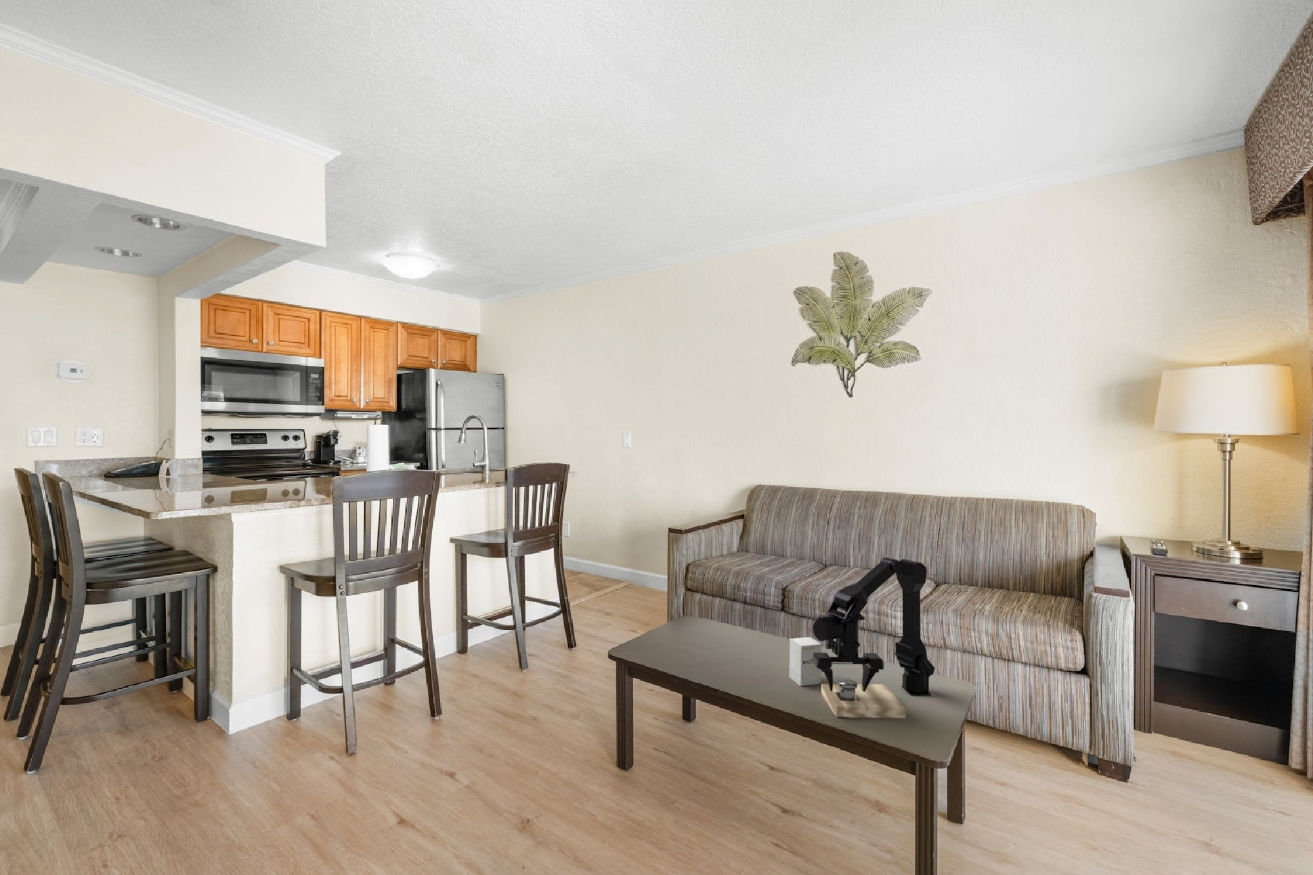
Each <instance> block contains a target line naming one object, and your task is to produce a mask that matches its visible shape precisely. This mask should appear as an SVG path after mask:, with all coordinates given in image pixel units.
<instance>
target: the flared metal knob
mask: <svg viewBox="0 0 1313 875" xmlns="http://www.w3.org/2000/svg"><path fill="white" fill-rule="evenodd" d="M837 684H838V685H839V686H840V700H841V701H855V689H856V688H857V684H858V682H857V681H856V680H854V679H849V678H840V679H838V681H837Z"/></svg>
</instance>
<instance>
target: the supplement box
mask: <svg viewBox="0 0 1313 875" xmlns="http://www.w3.org/2000/svg"><path fill="white" fill-rule="evenodd" d="M814 653H822V643H820V641H817V640H816V639H814V638H812V637H811V636H809V637H794V638H789V666H788V667H789V670H788V671H789V672H788V675H789V676H788V678H790V680H792V681H793V682H794V683H796V684H797V685H798V687H799V686H800V687H803V686H811V685H812V686H813V685H821V684H822V683H821V682H822V671H821V670H820V669H818V668H817V667H816V666H815V664H814V663H813V654H814Z"/></svg>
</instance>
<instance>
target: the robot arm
mask: <svg viewBox="0 0 1313 875" xmlns="http://www.w3.org/2000/svg"><path fill="white" fill-rule="evenodd" d="M927 570H928V569H927V567H926V565H924V563H923V562H920V561H915V560H911V559H906V558H902V559H900V560H899V559H896V558H891V557H888V556H887V557H883V558H882V559H880V561H879V563H878V564H876V566H874V567H873V568H872V569H870V571H869V572H867V574H865V575H864V576H862V577H861V578H860V579H859V580H858V581H857V582H855V583H854V584H850V585H847V586H844V587H843V588H840V589H839V590H838V591H837V592H836V593H835V594H834V598H832V600H831V603H830V604H829V606H828V608H827V610H826V614H819V615H818V616H817V619H816V620H815V621H814V623H813V625H812V631H813V634H814V636H815V638H816V639H817V640H818V642H824V641H825V649H826V650H831V652H832V653H833V654H834V655H835V656H830V655H829V654H828V653H827V652H821V653H814V654H813V663H814V664H815V666H816V667H817V668H818V669H820V670H821V673H823V674H824V676H825V678H826V681H827V684H828V685H829V688H830V691H833V684H834V682H833V681H834V678H833V677H834V674H833V671H834V670H833V669H832V667H833V666H832V665H861V666H862V681H861V684H862V691H863V692H865V690H866V688H867V687H868V685H869V684H871V683H870V682H871V681H872V679H873V678H874V676H875V675H876V674H877V673H880V670H884V669H885V662H884V660H883V659H882V658H881V657H880V656H879V655H878V653H876V652H864V653H863V655H862V656H859V648H860V647H861V645H860V644H861V643H860V642H859V637H860V636H859V635H860V634H859V629H860V628H859V623H860V622H859V621H864V620H865V619H866V618H865V617H864V616H863V615H862V614H861V612H862V611H863V610H864V608H866V605H867V604H868V600H869V597H870V596H871V595H872V594H874V593H875V592H876V591H877V590H878V589H879V588H880V587H881V586H883V585H884V584H885V583H886V582H887V581H888V580H889V579H891V577H892V576H894V575H895V574H896V575H895V576H896V580H897V582H898V584H899V585H900V588H901V590H902V593H901V595H902V600H901V601H902V607H901V608H902V637H901V638H900V640H899V641H896V642H895V643H894V645H895V646H894V647H895V653H894V656H896V660H897V661H898V664H899V668H903V673H902V682H901V684H902V685H901V688H903V690H904V691H905V692H906V693H907V694H908V695H910V696H932V692H930V677H931V676H932V675H934V673H935V669H936V668H935V666H934V665H933V664H932V662H931V661H930V660H929V659H928V654H927V653H928V652H927V647H926V646H925V644H924V642H923V640H922V638H921V636H922V635H921V590H922V589H923V587H924V586H925V584H926V583H927V582H926V581H927V573H928V572H927Z"/></svg>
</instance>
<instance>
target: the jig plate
mask: <svg viewBox="0 0 1313 875" xmlns="http://www.w3.org/2000/svg"><path fill="white" fill-rule="evenodd" d="M820 685H821V689H820V690H821V691H820V693H821V694H820V695H821V696H822V697H823V699H824V700H825V702H826V704H827V705H828V706H829V708H830V710H831V711H832V712H833V714H834V715H836V716H835V717H836V718H837V717H841V718H842V717H845V718H846V717H849V719H851V718H853V719H859V718H860V719H861V718H862V719H864V718H865V719H907V707H906V705H905V704H904V703H903V701H901V700H900V699H899V698H898V696H896V695H895V693H894V692H893V691H892V690H891V689H890V688H889V687H888V686H887V685H886V684H880V683H879V684H878V683H877V684H876V683H875V684H872V683H869V685H868V687H867V688H866V690H865V692H863V691H862V683H861V684H860V683H857V688H856V689H855V701H841V700H840V686H839V685H838V683H833V691H830V688H829V685H828V683H821V684H820ZM858 717H859V718H858ZM841 718H840V719H841Z"/></svg>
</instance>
